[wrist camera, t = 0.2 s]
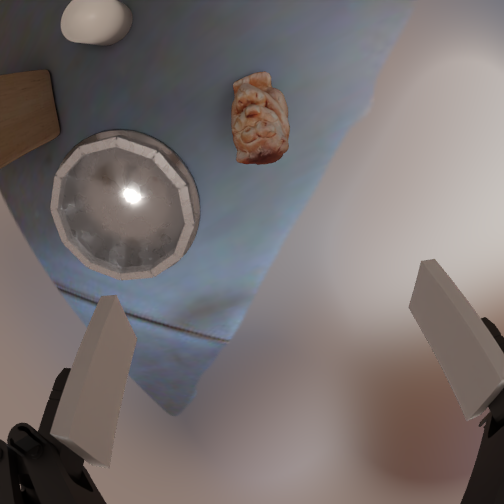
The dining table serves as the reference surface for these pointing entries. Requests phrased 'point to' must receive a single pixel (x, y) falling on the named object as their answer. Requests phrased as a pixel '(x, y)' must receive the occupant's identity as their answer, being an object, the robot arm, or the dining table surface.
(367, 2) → the dining table surface
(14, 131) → the block
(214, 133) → the dining table surface
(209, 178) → the dining table surface
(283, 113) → the figurine
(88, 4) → the white domed cylinder
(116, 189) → the metallic bowl
